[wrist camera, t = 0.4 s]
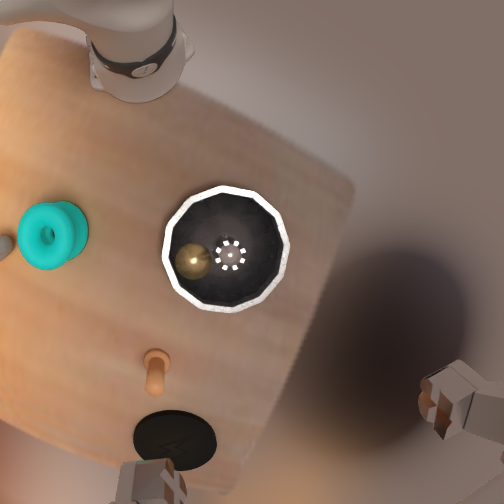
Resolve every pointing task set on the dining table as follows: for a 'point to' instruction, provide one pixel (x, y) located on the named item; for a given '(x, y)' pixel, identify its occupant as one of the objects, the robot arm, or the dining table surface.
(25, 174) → the dining table surface
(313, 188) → the dining table surface
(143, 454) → the wireless charger
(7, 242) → the donut
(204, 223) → the bowl
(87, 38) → the robot arm
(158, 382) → the peg on round base
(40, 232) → the turquoise spool
